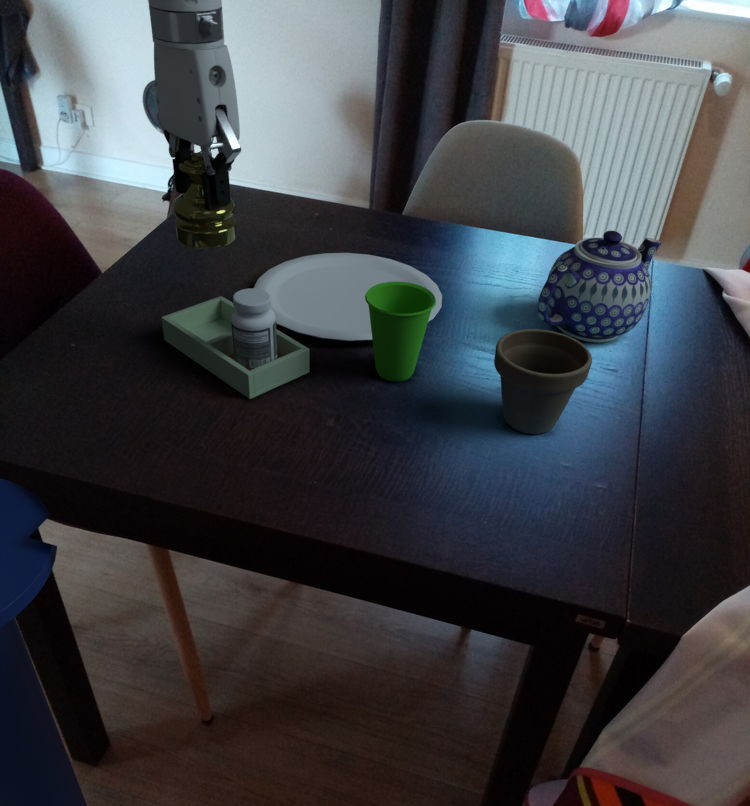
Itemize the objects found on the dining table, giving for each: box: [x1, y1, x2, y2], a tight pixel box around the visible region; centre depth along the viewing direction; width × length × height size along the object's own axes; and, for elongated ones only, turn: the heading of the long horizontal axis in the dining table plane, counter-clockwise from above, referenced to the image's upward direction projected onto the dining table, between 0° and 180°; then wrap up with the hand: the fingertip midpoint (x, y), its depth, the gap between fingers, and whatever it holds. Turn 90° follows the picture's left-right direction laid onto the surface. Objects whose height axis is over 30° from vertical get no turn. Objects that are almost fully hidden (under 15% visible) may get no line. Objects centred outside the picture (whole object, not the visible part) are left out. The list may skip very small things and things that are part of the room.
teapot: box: [536, 230, 662, 344], centre depth 114 cm, size 25×15×15 cm, turn 125°
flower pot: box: [493, 328, 593, 435], centre depth 96 cm, size 12×11×10 cm
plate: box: [253, 252, 443, 343], centre depth 121 cm, size 29×29×2 cm
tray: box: [160, 295, 311, 400], centre depth 106 cm, size 10×19×4 cm, turn 45°
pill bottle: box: [231, 287, 278, 371], centre depth 101 cm, size 6×6×10 cm
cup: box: [365, 282, 436, 382], centre depth 103 cm, size 9×9×11 cm
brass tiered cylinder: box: [172, 152, 237, 250], centre depth 94 cm, size 7×7×10 cm
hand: (203, 196), depth 95 cm, fingers closed on brass tiered cylinder, 5 cm apart
